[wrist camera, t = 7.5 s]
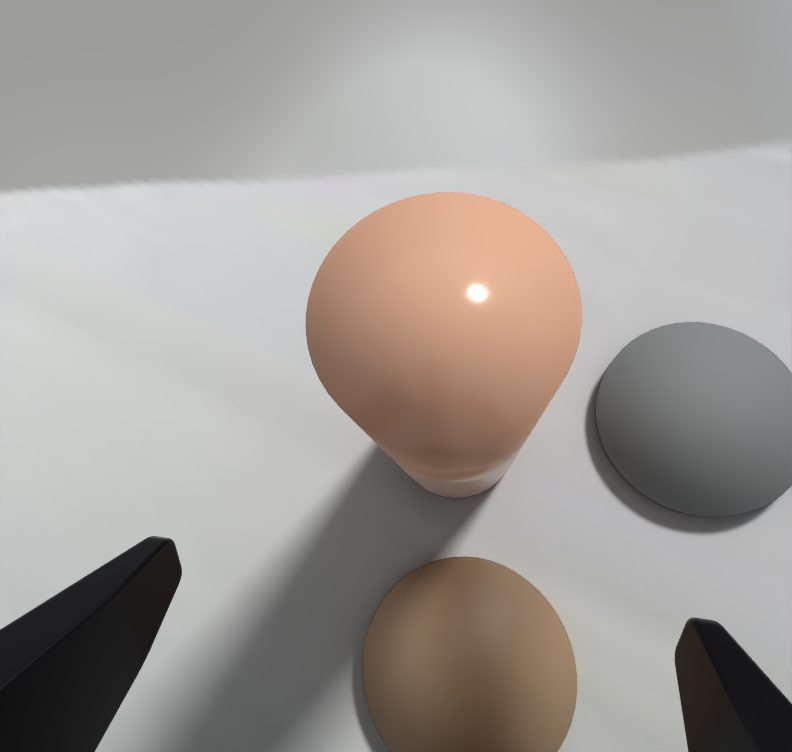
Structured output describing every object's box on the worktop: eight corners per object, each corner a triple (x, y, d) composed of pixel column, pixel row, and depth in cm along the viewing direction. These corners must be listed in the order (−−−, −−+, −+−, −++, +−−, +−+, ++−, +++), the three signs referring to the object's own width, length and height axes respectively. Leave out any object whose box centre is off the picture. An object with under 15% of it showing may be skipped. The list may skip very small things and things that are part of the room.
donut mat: (410, 822, 18) (408, 831, 18) (337, 600, 21) (334, 602, 20) (613, 738, 18) (617, 745, 18) (517, 526, 21) (518, 526, 20)
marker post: (422, 516, 21) (360, 494, 9) (378, 405, 23) (272, 253, 10) (537, 468, 21) (636, 378, 9) (485, 360, 23) (506, 154, 10)
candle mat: (656, 548, 20) (662, 548, 19) (562, 370, 22) (564, 366, 22) (845, 470, 20) (857, 468, 19) (730, 299, 22) (737, 293, 22)
